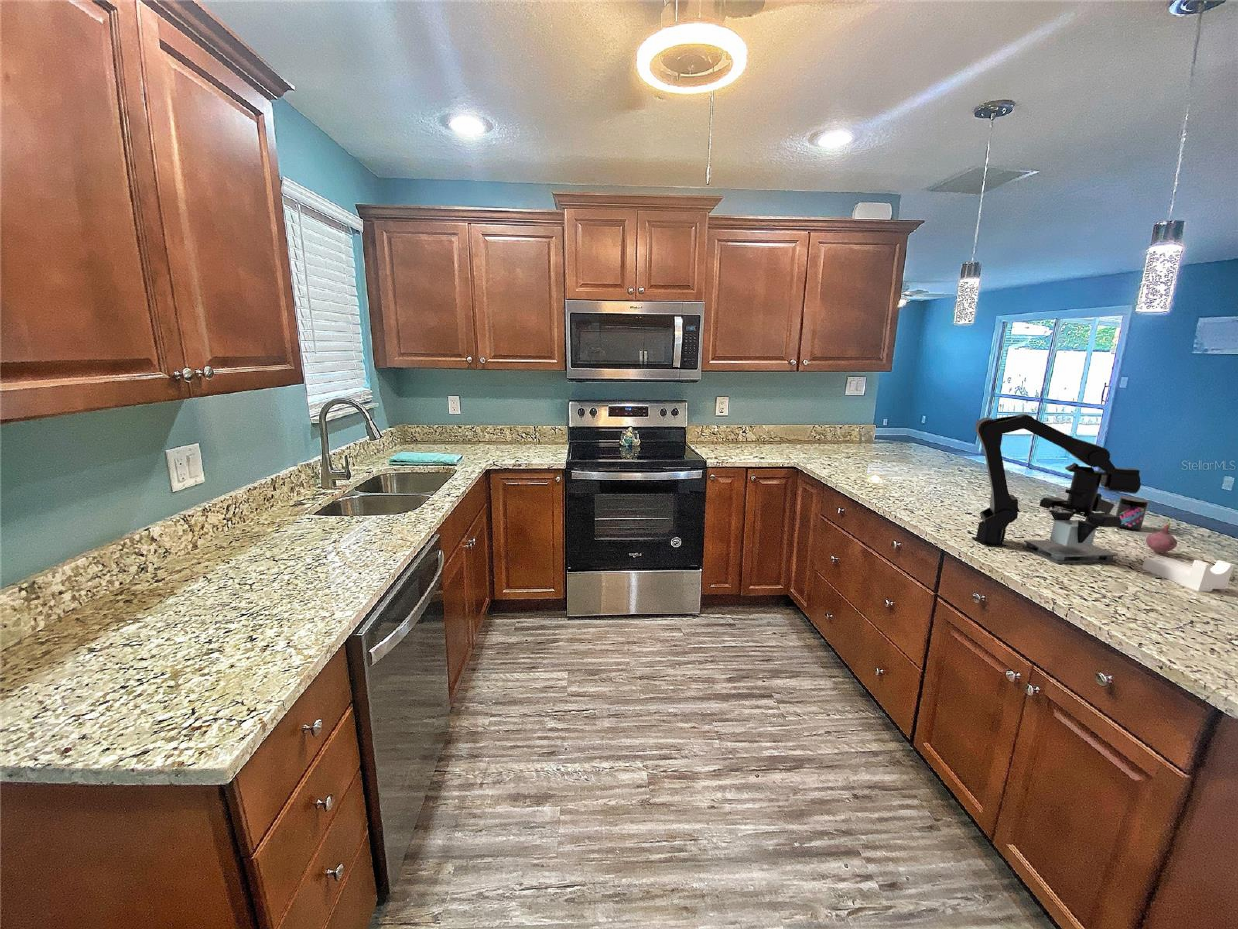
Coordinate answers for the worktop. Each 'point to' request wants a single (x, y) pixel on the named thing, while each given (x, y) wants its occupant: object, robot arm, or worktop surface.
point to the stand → (1069, 552)
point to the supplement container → (1131, 512)
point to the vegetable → (1161, 541)
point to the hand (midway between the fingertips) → (1071, 539)
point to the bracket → (1191, 573)
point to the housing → (1069, 533)
